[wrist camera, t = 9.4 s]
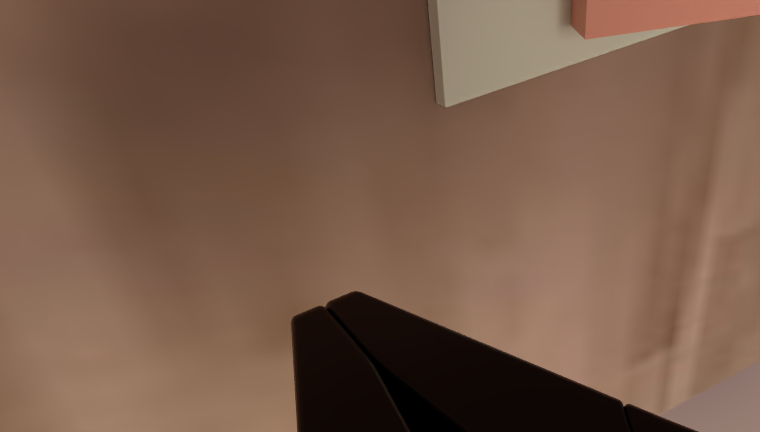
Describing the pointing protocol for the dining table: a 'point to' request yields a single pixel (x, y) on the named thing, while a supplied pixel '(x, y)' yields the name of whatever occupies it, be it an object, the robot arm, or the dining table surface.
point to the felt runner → (507, 44)
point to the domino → (651, 14)
